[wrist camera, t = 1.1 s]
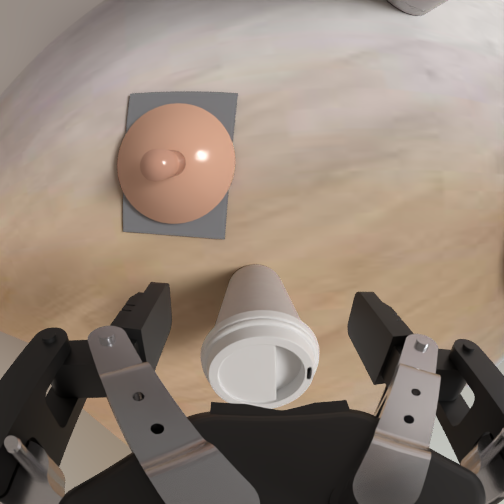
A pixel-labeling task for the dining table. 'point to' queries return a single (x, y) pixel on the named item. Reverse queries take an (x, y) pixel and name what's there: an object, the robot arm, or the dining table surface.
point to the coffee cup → (259, 343)
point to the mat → (216, 219)
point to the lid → (176, 163)
